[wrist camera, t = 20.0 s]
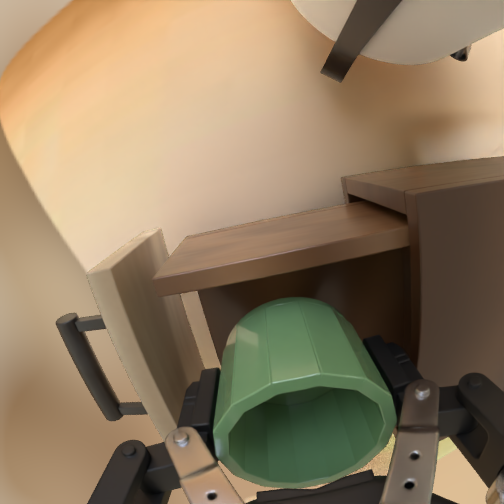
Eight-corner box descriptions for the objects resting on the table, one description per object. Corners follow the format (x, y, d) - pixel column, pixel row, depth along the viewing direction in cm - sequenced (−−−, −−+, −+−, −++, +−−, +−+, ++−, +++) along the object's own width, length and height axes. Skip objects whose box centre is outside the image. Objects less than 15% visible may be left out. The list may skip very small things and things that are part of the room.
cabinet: (360, 364, 22) (403, 455, 13) (340, 177, 18) (415, 193, 9) (516, 307, 21) (579, 354, 12) (521, 154, 17) (606, 166, 8)
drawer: (141, 400, 22) (113, 471, 15) (78, 248, 18) (8, 291, 11) (405, 353, 21) (450, 417, 14) (398, 179, 17) (473, 194, 10)
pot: (358, 388, 15) (390, 466, 10) (240, 411, 15) (237, 496, 10) (351, 282, 13) (403, 350, 8) (208, 311, 14) (185, 394, 8)
